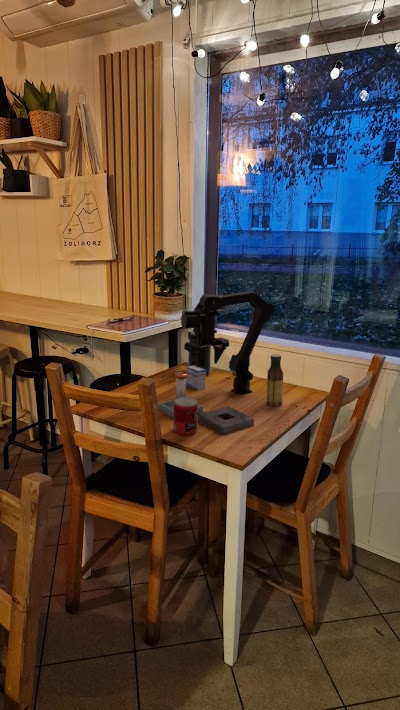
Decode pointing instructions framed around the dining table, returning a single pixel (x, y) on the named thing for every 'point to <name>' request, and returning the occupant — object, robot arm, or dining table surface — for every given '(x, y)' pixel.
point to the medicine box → (196, 377)
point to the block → (219, 422)
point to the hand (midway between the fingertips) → (206, 365)
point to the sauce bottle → (275, 382)
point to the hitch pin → (181, 384)
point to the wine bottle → (205, 356)
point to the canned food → (185, 416)
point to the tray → (169, 408)
